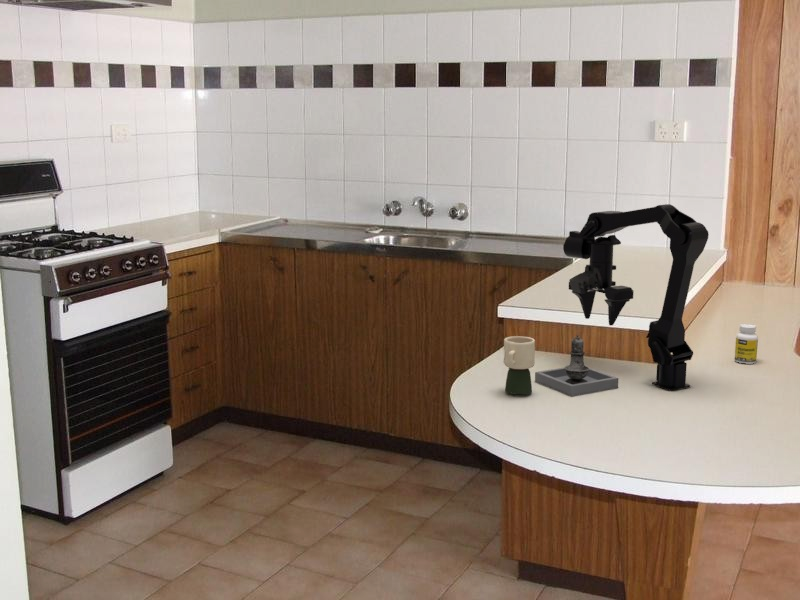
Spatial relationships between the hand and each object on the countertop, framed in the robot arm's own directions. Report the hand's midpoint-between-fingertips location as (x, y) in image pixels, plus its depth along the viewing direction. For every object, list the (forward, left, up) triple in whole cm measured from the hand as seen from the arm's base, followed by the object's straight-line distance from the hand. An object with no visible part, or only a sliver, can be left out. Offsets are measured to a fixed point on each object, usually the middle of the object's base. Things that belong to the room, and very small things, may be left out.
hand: (599, 321), depth 237 cm
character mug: (-9, +31, -12) cm, 35 cm away
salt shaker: (-10, +15, -12) cm, 21 cm away
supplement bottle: (-15, -37, -12) cm, 42 cm away
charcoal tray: (-10, +15, -12) cm, 22 cm away
